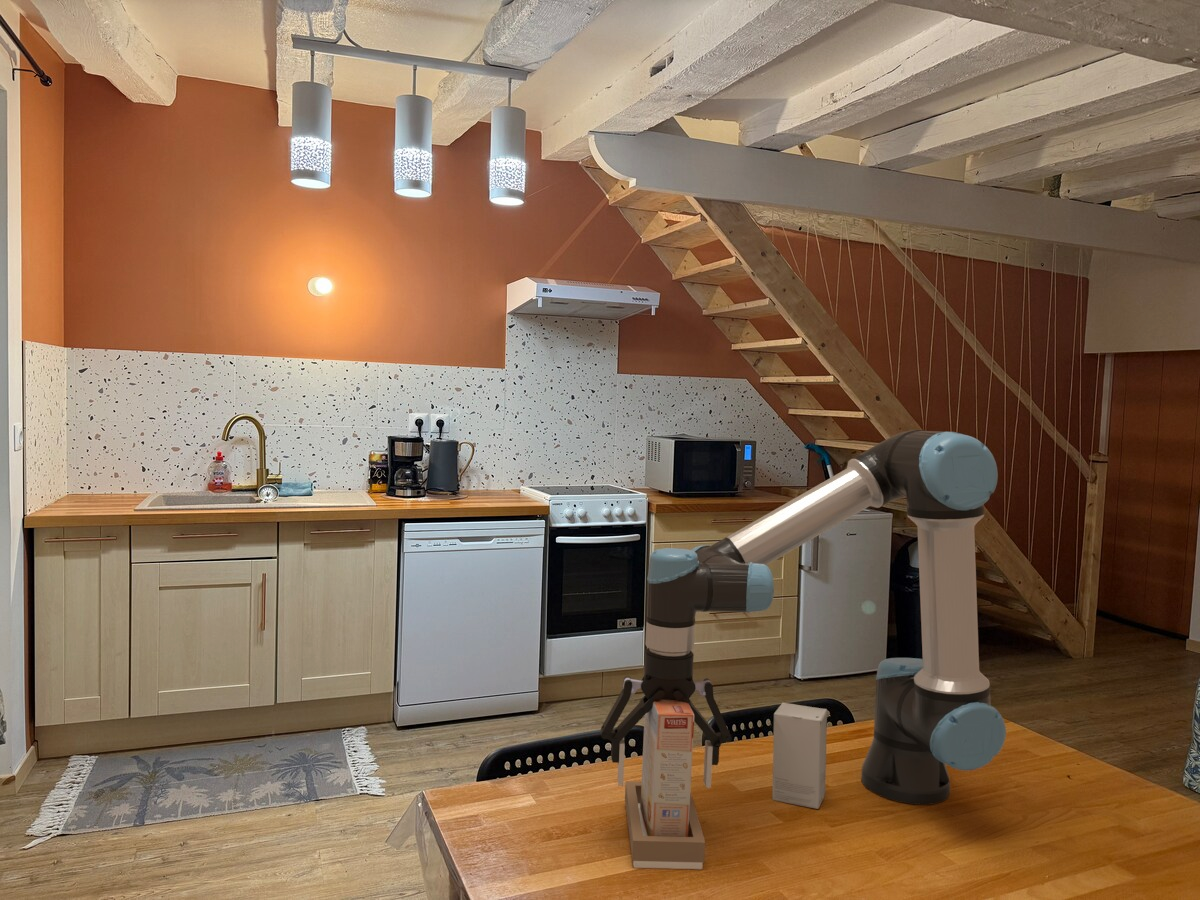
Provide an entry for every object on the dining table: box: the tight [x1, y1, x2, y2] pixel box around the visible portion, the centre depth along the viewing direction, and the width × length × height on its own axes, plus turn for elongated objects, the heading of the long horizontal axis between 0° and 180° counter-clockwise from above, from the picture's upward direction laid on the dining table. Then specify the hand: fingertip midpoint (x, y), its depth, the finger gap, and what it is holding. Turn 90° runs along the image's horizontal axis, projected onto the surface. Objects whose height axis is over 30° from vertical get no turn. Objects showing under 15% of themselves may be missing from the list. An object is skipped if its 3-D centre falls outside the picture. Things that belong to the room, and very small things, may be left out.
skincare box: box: [771, 702, 828, 810], centre depth 152 cm, size 8×7×16 cm
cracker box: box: [640, 699, 695, 837], centre depth 138 cm, size 14×6×21 cm, turn 4°
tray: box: [624, 780, 706, 870], centre depth 138 cm, size 10×20×4 cm, turn 2°
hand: (663, 783), depth 138 cm, fingers open, 13 cm apart
